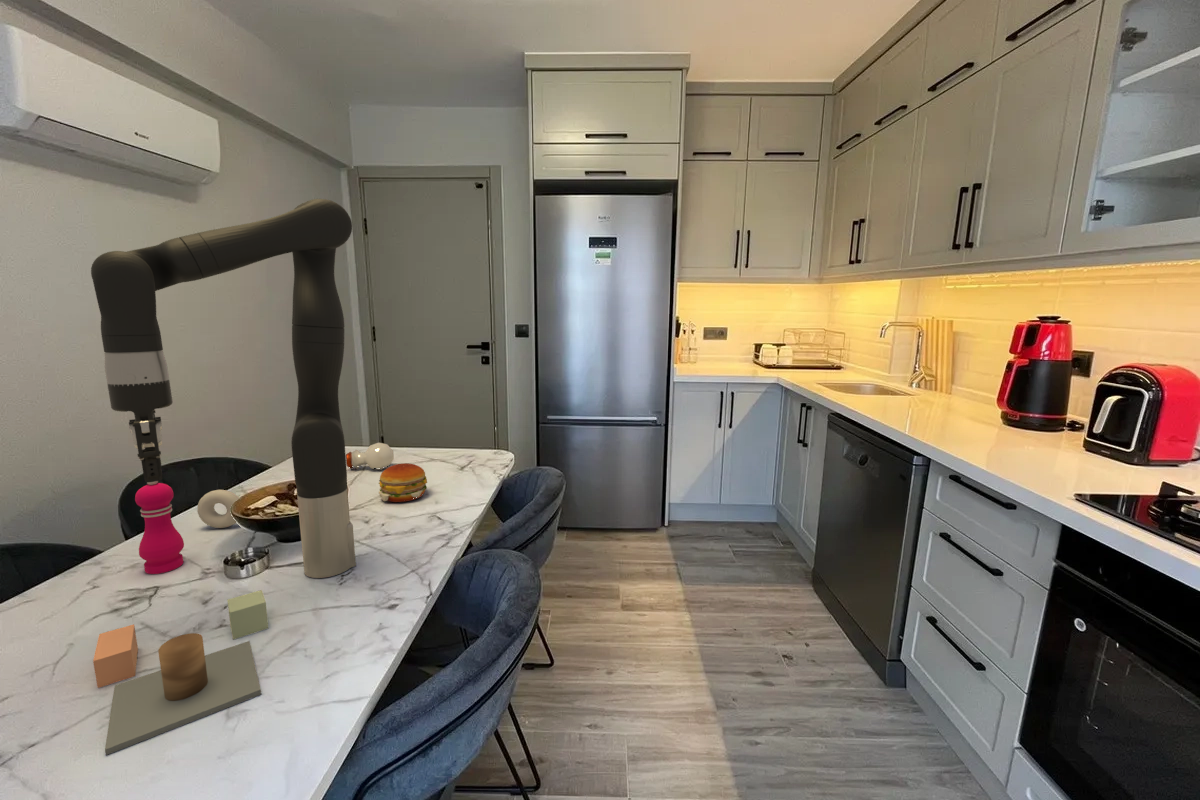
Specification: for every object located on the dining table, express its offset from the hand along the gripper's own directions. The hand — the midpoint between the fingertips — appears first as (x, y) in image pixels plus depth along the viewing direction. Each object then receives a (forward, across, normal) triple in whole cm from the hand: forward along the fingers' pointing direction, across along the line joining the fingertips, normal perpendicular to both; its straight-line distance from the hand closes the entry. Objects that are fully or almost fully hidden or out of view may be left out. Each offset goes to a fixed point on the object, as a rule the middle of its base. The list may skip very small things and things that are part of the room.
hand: (153, 474), depth 85 cm
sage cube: (+27, -11, -9) cm, 31 cm away
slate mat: (+27, -24, -1) cm, 36 cm away
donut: (+27, +42, -10) cm, 51 cm away
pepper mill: (+27, +25, +1) cm, 37 cm away
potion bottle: (+27, +69, -55) cm, 92 cm away
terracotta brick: (+27, -10, +7) cm, 30 cm away
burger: (+27, +35, -53) cm, 69 cm away
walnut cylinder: (+26, -24, 0) cm, 35 cm away
